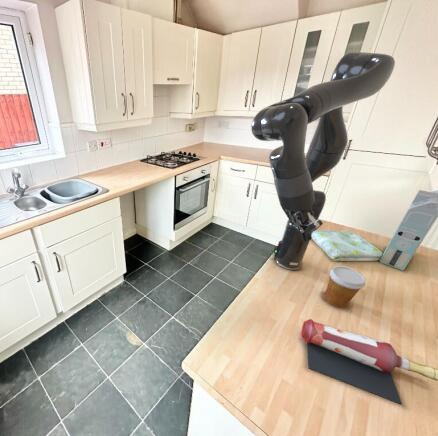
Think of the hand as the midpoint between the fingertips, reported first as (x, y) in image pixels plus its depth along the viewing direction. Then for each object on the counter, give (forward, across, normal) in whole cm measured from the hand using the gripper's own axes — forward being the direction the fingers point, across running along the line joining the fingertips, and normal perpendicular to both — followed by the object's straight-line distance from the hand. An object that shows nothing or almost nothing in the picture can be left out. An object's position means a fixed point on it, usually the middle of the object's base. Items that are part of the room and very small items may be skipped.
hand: (306, 239), depth 66 cm
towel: (+48, +31, -31) cm, 65 cm away
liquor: (+24, -7, +11) cm, 28 cm away
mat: (+31, -16, +6) cm, 36 cm away
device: (+56, +22, -46) cm, 76 cm away
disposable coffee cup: (+37, +4, -7) cm, 38 cm away
